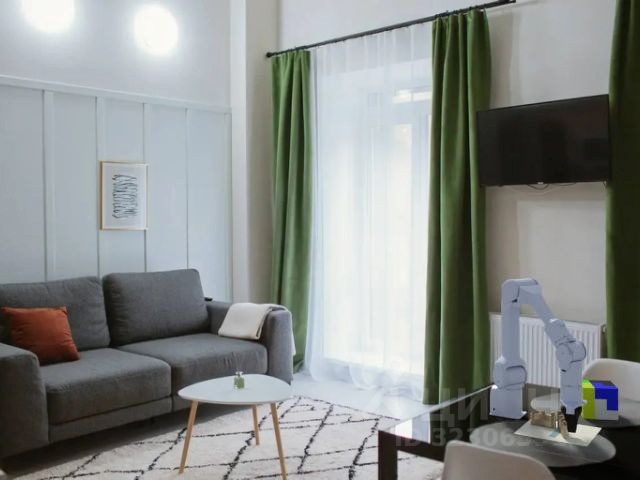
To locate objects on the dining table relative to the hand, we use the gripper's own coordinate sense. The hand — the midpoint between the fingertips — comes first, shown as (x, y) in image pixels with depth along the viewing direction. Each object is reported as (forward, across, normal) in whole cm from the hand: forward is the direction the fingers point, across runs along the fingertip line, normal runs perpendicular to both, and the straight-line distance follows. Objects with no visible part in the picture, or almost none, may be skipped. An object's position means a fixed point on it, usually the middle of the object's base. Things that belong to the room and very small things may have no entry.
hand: (571, 432), depth 183 cm
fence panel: (+1, +1, +2) cm, 3 cm away
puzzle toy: (+2, +24, -6) cm, 25 cm away
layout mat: (+2, +4, +4) cm, 6 cm away
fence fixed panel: (+1, +7, +7) cm, 10 cm away
